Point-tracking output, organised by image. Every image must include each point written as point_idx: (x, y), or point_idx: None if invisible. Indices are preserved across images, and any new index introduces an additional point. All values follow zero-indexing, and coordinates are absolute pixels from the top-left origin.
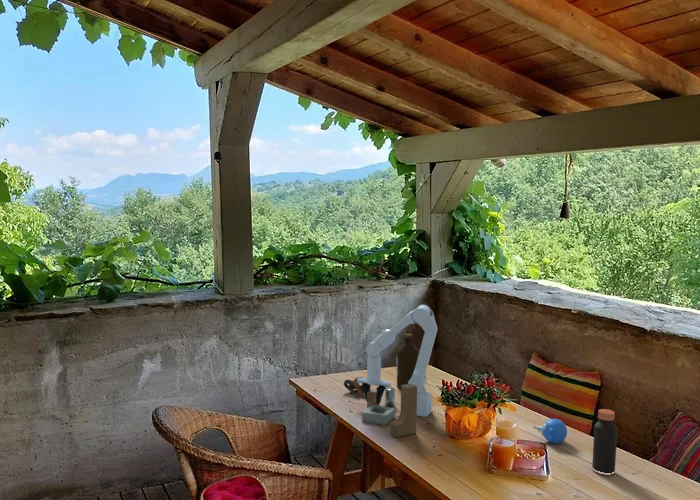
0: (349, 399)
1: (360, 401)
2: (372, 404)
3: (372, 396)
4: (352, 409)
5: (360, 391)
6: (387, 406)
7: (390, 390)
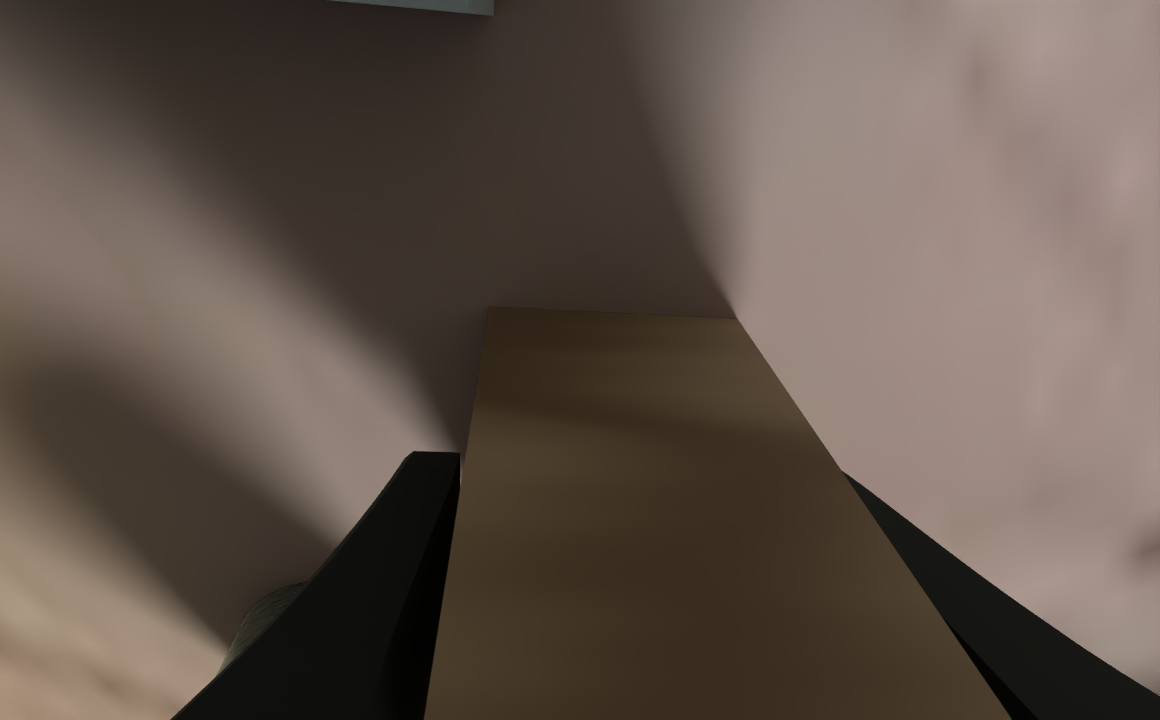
0: (1156, 611)
1: None
2: (453, 10)
3: (645, 576)
4: (1129, 70)
5: None
6: None
7: None
